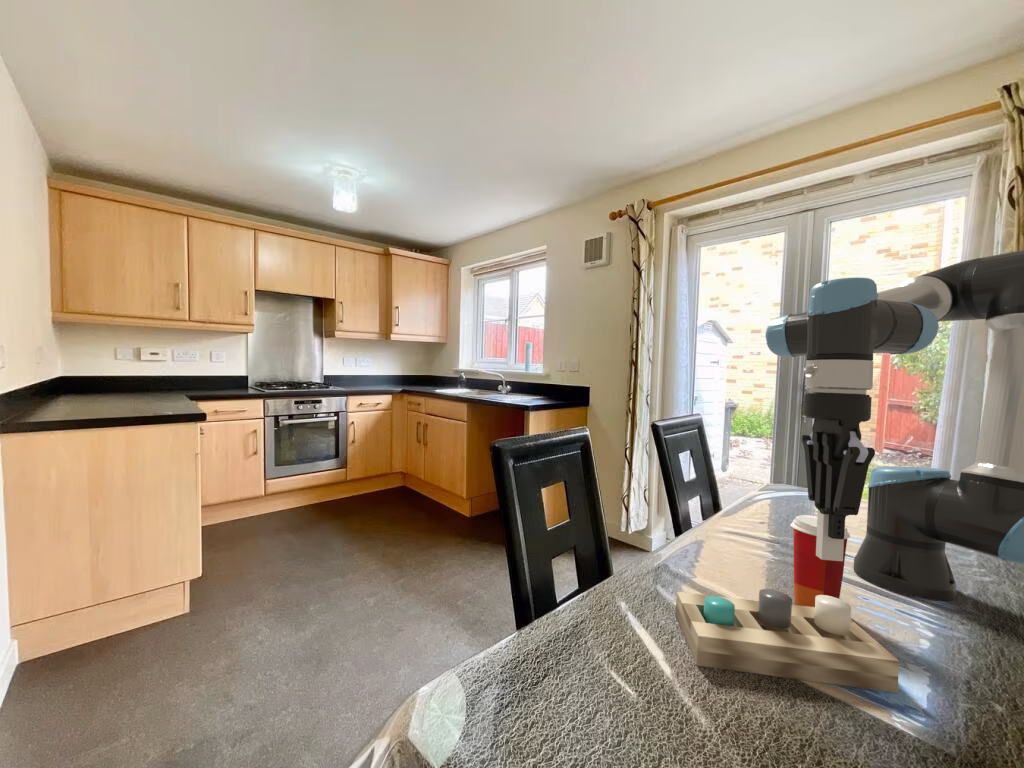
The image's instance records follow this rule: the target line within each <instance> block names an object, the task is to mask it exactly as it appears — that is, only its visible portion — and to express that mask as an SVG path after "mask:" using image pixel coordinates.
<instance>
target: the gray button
mask: <svg viewBox="0 0 1024 768" xmlns="http://www.w3.org/2000/svg"><path fill="white" fill-rule="evenodd" d="M758 592H759V593H758V595H759V596H758V601H759V608H758V617H759V619H760V620H762V621H763V622H764V623H766V624H768V625H771V626H774V627H778V628H789V627H790V626H791V612H792V605H793V598H792V597H791V596H790V595H788V594H786V593H784V592H781V591H780V590H775V589H772V588H771V589H770V588H762V589H759V591H758Z"/></svg>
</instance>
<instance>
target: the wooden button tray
mask: <svg viewBox="0 0 1024 768" xmlns="http://www.w3.org/2000/svg"><path fill="white" fill-rule="evenodd" d="M707 596H711V595H709V594H700V593H691V592H683V591H682V592H681V591H676V596H675V597H676V598H675V599H676V600H675V619H676V620H677V623H678V626H679V627H680V630H681V632H682V635H683V637H684V639H685V641H686V645H687V646H688V649H689V650H690V654H691V656H692V658H693V660H694V664H695V665H696V666H697V667H705V668H712V669H720V670H726V671H733V672H740V673H741V672H744V673H749V674H757V675H764V676H770V677H771V676H772V677H779V678H786V679H787V678H788V679H793V680H794V679H795V680H800V681H801V680H803V681H809V682H815V683H816V682H817V683H823V684H831V685H832V684H833V685H838V686H846V687H852V688H860V689H868V690H875V691H883V692H889V693H896V694H897V693H898V691H899V690H898V689H899V688H898V687H899V673H900V672H899V671H900V660H899V659H897V658H896V656H894V655H893V654H892V653H890V651H888V650H887V649H886V648H885V647H883V646H882V644H880V643H879V642H878V641H877V640H875V638H873V637H872V636H871V635H870V634H868V633H867V632H866V631H865V630H864V629H862V628H861V627H860V626H859V625H858V624H857V623H856V622H854V620H852V619H851V618H850V633H849V634H848V635H836V634H832V633H829V632H827V631H825V630H823V629H821V628H819V627H818V626H817V625H816V624H815V623H814V614H815V607H808V606H799V605H796V604H792V612H791V626H790V627H789V628H778V627H774V626H771V625H768V624H766V623H764V622H763V621H762V620H760V619H759V617H758V608H759V600H753V599H745V598H735V597H727V596H721V597H722V598H725V599H727V600H729V601H731V602H732V603H733V604H734V605H735V614H734V626H727V625H719V624H710V623H706V622H705V620H704V618H703V616H704V599H705V597H707ZM718 597H720V596H719V595H718Z"/></svg>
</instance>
